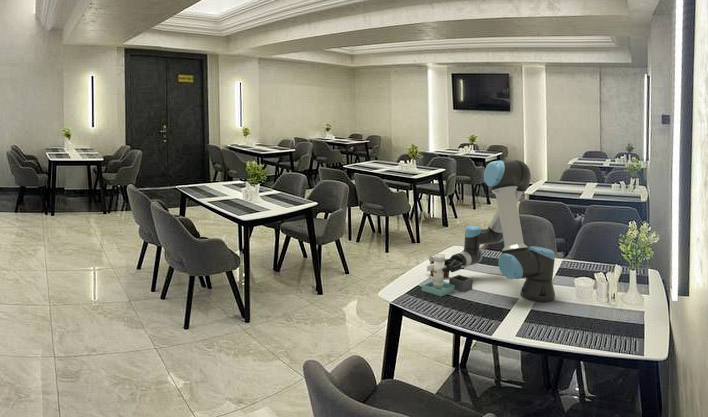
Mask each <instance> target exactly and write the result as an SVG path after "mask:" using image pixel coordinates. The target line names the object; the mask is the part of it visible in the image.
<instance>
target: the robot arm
mask: <svg viewBox="0 0 708 417" xmlns="http://www.w3.org/2000/svg"><path fill="white" fill-rule="evenodd" d="M531 176H532V174H531V169H530V168H529V165H527V164H526V162H524V161H522V160H517V159H514V160H512V159H511V160H501V159H500V160H495V161H491V162H489V163H488V164H487V165H486V167H485V169H484V172H483V179H484V183H485V184H486V186H487V187H489V188H491V193H493V194H494V195H495V199H496V204H497V208H496V209H495V213H494V215H493V217H492V219H491V221H490V223H489V225H488V227H487V228H484V229H482V228H481V227H480V226H478V225H467V226H466V227H465V231H464V246H463V251H461V252H459V253H454V254H453V255H451V256H450V257H449V258H445V259H446V260H445V261H444V266H443V267H440V268H437V274H441V273H443V272H446V271H447V272H449V271H450V272H449V273H455V272H457V271H460V270H465V268H468V267H469V266H472V265H476V264H478V263H480V262H481V261H482V260H483V253H482V250H481V249H480V247H481V246H480V245H488V244H490V245H491V244H498V243H502V242H503V245H504V247H503V248H502V250H501V255H500V256H499V258H498V264H497V265H498V268H499V271H500V273H501V274H502V275H503V276H504V277H505V278H506V279H508V280H520V279H525V280H524V283H523V285H522V287H521V288H520V296H521V297H522V298H524V299H526V300H529V301H532V302H533V301H534V302H542V303H544V302H545V303H547V302H553V301H555V299H556V292H555V287H554V284H553V280H554V279H553V276H554V268H555V261H556V259H555V256H556V254H555V252H554V250H552V249H550V248H545V247H541V246H533V245H532V246H531V245H530V246H528V245H526V244H525V243H524V235H523V231H522V225H521V219H520V214H519V207H518V202H519V200H520V199H521V197H522V195H523V193H525V192H527V190H528V188H529V186H530V183H531V178H532V177H531ZM431 270H434V261H432V262H431V265H430V264H428V265H426V272H430V271H431Z"/></svg>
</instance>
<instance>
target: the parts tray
mask: <svg viewBox="0 0 708 417" xmlns="http://www.w3.org/2000/svg"><path fill="white" fill-rule="evenodd" d="M455 291H456V290H455V286H454V285H451V284H449V283H447V282H444V284H443V287H442V288H435V287H433V280H432V281H430V282H428V283H424V284H421V292H425V293H429V294H431V295H434V296H436V297H437V296H438V297H443V296H446V295H448V294H452V293H454V292H455Z"/></svg>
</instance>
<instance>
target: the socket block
mask: <svg viewBox="0 0 708 417" xmlns="http://www.w3.org/2000/svg"><path fill="white" fill-rule="evenodd" d="M448 278H449V280H448V284H451V285H454V286H455V290H454V291H458V292H461V293H466V292H467V291H469V290H472V289H473V283H474V282H473V281H474V278H472V277H469V276H465V275H461V274H458V275H455V276H451V277H448Z"/></svg>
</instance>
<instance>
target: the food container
mask: <svg viewBox="0 0 708 417" xmlns="http://www.w3.org/2000/svg"><path fill="white" fill-rule="evenodd" d="M446 259H447V258H445V260H446ZM428 261H429V265H431V262H432V261H434V256H432V255H431V254H430V255H429V257H428ZM433 271H434V270H431V271H429V272H430V276H431V277H432V278H433V273H434V272H433ZM450 273H451V271H449V272H447V271H446V272H444V279H447V278H450V277H449V276H450Z"/></svg>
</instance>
